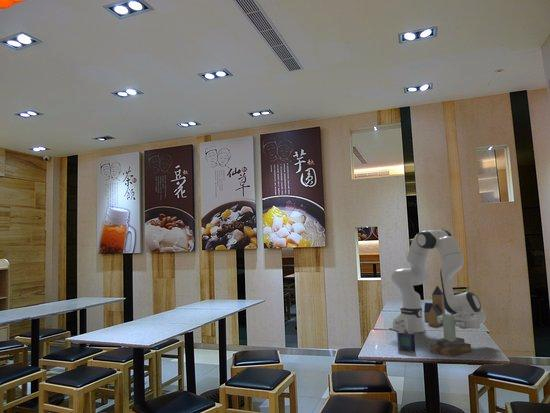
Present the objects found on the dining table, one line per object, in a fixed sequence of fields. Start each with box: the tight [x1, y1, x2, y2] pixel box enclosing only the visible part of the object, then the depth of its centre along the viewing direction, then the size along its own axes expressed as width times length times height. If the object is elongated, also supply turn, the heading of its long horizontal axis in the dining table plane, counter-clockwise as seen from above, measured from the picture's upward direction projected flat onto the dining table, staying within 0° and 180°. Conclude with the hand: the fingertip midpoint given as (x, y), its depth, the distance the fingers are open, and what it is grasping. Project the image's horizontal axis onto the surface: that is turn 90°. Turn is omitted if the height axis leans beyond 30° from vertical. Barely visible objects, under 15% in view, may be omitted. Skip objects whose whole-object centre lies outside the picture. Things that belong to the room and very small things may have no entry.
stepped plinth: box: [430, 336, 472, 358], centre depth 205 cm, size 12×16×6 cm
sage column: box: [442, 313, 457, 340], centre depth 206 cm, size 4×4×12 cm
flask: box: [396, 329, 416, 353], centre depth 211 cm, size 9×3×11 cm, turn 48°
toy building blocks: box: [423, 285, 446, 327], centre depth 281 cm, size 12×19×25 cm
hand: (448, 323), depth 206 cm, fingers open, 8 cm apart
